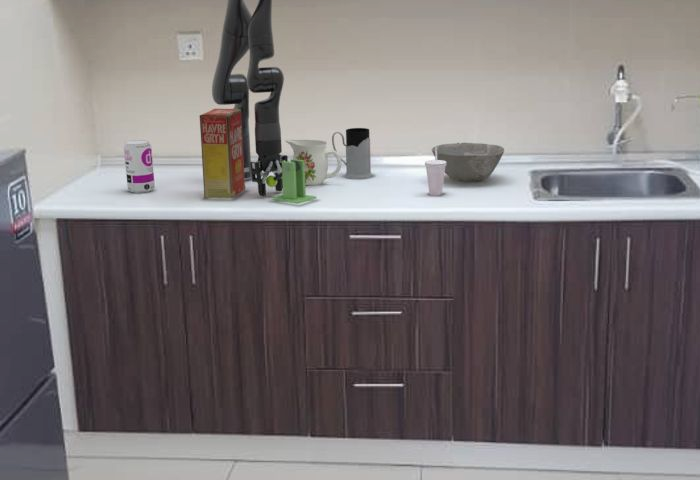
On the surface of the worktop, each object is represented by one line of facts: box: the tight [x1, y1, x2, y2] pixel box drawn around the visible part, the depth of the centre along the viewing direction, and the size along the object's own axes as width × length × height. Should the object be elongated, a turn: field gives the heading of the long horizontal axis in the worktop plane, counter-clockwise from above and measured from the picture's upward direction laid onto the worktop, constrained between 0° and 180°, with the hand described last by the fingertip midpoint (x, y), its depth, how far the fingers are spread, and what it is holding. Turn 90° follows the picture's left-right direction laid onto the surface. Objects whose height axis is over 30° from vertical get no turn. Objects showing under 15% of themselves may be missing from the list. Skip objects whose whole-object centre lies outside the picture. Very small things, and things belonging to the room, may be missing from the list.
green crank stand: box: [272, 158, 317, 205], centre depth 284 cm, size 10×8×12 cm
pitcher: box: [284, 139, 342, 186], centre depth 304 cm, size 11×18×14 cm, turn 74°
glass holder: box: [331, 127, 373, 180], centre depth 317 cm, size 9×14×15 cm, turn 58°
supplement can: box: [123, 139, 156, 194], centre depth 301 cm, size 8×8×15 cm
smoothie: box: [424, 146, 446, 197], centre depth 289 cm, size 6×6×14 cm
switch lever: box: [265, 161, 300, 188], centre depth 286 cm, size 13×3×3 cm, turn 53°
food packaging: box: [199, 108, 246, 199], centre depth 291 cm, size 13×9×25 cm
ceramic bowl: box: [431, 142, 505, 183], centre depth 308 cm, size 22×23×10 cm
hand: (270, 193), depth 291 cm, fingers open, 6 cm apart
